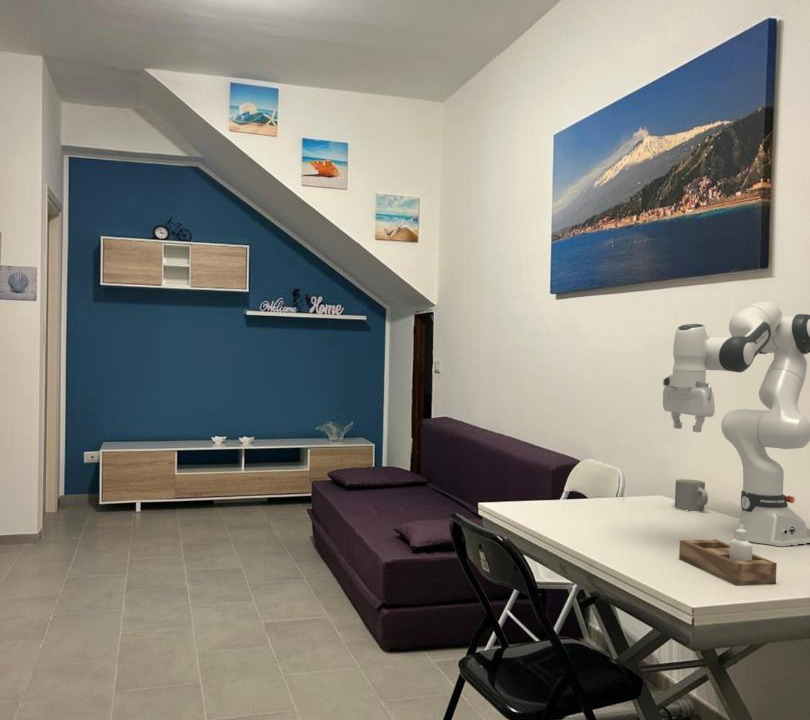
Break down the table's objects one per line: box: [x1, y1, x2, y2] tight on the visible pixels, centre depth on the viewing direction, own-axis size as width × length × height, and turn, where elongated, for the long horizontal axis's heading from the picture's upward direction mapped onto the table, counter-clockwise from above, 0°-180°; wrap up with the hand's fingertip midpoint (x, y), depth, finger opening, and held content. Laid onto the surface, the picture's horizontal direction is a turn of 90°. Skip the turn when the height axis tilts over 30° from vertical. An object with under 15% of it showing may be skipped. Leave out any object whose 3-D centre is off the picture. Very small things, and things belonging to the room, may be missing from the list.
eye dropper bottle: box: [729, 525, 753, 561], centre depth 194 cm, size 4×6×12 cm
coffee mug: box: [674, 478, 709, 512], centre depth 282 cm, size 13×10×10 cm
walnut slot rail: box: [678, 539, 778, 586], centre depth 200 cm, size 11×24×5 cm, turn 13°
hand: (687, 430), depth 222 cm, fingers open, 8 cm apart
